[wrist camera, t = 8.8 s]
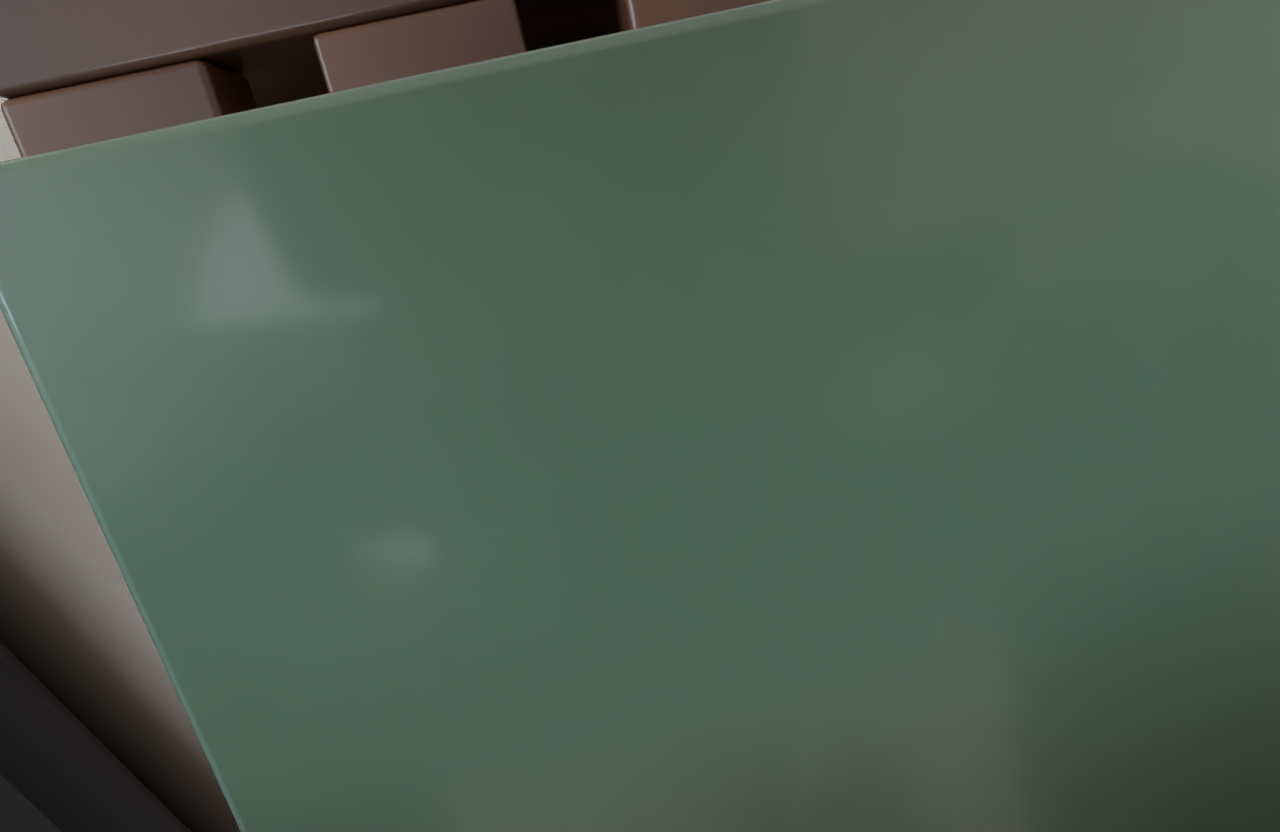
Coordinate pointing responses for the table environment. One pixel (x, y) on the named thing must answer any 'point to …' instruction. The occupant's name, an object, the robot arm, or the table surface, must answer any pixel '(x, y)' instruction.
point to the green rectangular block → (703, 423)
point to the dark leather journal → (63, 768)
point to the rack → (260, 53)
